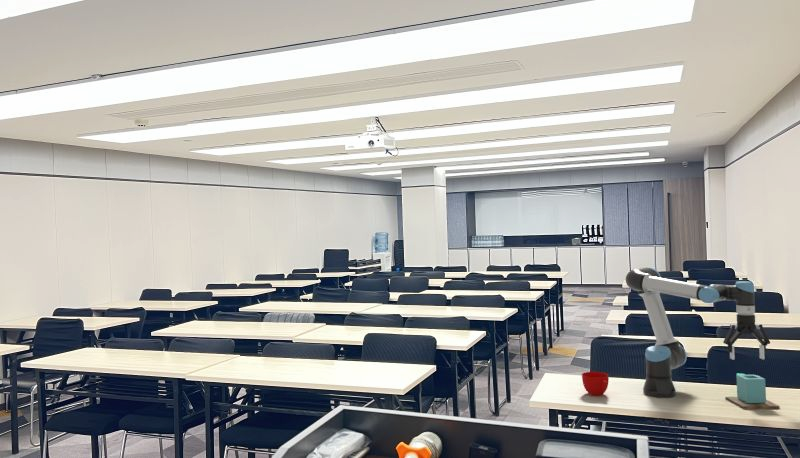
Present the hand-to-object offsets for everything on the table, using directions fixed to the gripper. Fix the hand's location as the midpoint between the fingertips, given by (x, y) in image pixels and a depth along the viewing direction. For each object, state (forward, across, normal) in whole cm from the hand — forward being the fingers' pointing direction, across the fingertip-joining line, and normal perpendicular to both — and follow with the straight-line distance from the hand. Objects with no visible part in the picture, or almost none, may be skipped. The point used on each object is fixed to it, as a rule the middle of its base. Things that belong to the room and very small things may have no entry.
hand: (747, 359), depth 268 cm
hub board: (+21, +1, -1) cm, 21 cm away
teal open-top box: (+19, +1, -1) cm, 19 cm away
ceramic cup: (+22, -65, +16) cm, 71 cm away
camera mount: (+21, +7, +14) cm, 26 cm away
